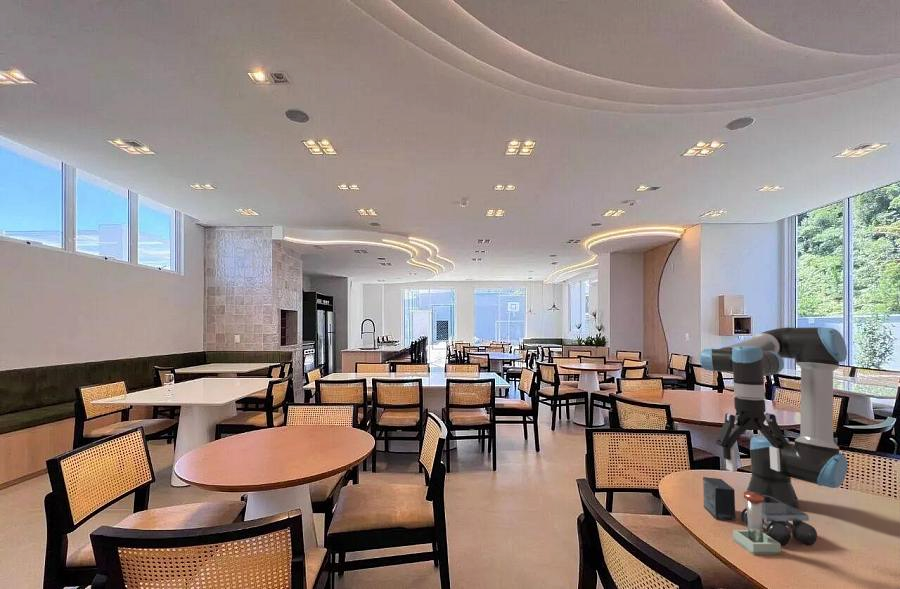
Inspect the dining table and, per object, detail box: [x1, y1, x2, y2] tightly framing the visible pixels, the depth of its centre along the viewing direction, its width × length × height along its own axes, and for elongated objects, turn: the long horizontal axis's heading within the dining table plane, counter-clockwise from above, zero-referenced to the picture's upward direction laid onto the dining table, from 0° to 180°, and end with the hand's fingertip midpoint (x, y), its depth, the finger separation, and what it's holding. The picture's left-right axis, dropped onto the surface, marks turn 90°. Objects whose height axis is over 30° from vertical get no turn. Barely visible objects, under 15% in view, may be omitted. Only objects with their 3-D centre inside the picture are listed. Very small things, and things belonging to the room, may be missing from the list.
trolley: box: [740, 495, 818, 547], centre depth 128 cm, size 14×12×11 cm
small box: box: [702, 476, 737, 522], centre depth 143 cm, size 11×6×10 cm, turn 168°
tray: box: [732, 529, 782, 556], centre depth 121 cm, size 8×8×3 cm
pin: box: [743, 490, 764, 543], centre depth 121 cm, size 5×5×14 cm
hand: (753, 470), depth 122 cm, fingers open, 13 cm apart
